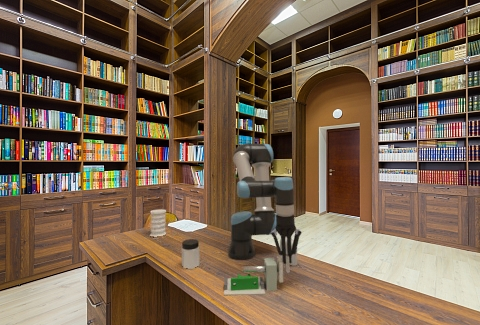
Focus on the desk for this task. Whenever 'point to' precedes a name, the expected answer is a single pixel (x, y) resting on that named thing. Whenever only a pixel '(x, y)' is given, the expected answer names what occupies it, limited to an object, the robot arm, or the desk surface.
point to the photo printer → (294, 256)
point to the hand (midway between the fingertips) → (287, 270)
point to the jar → (190, 253)
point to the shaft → (263, 268)
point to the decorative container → (158, 222)
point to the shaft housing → (270, 274)
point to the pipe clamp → (244, 283)
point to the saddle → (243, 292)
